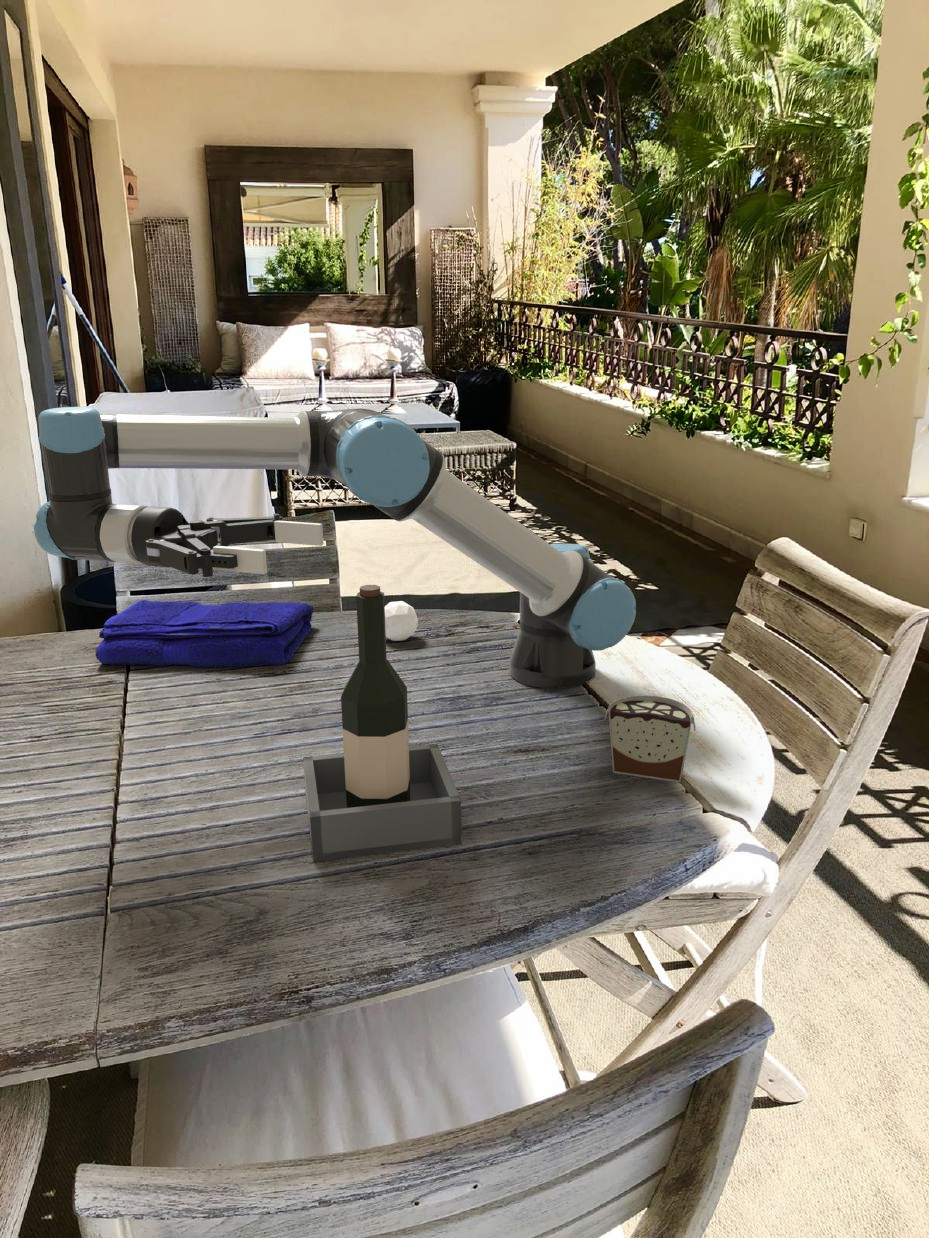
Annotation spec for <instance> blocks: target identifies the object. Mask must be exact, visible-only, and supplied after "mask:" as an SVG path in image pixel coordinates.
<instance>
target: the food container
mask: <svg viewBox="0 0 929 1238" xmlns="http://www.w3.org/2000/svg"><path fill="white" fill-rule="evenodd" d="M607 718H608V723H609V738H610V750H611V751H610V753H611V765H612V774H619V775H626V776H634V777H638V778H639V777H641V778H646V779H655V780H661V781H667V782H673V783H681V782H682V776H683V773H684V772H683V771H684V765H685V762H686V761H685V760H686V755H687V749H688V745H689V739H690V733H691V729H692V728H691V727H692V726H693V731H694V732H695V731H696V722H695V717H694V714H693V712H692V710H691V708H690V707H688V705H686V704H684V703H682V702H681V701H679V700H675V699H672V698H670V697H665V696H660V695H651V694H649V695H646V694H644V695H643V694H641V695H639V694H638V695H629V696H624V697H621V698H618V699H616V700H613V701H612V702H611V703H609V705H608V708H607V709H606V712H605V715H604V718H603V719H604V720H606V719H607Z"/></svg>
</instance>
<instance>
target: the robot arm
mask: <svg viewBox="0 0 929 1238" xmlns="http://www.w3.org/2000/svg"><path fill="white" fill-rule="evenodd" d="M37 419H38V428H39V432H38V434H39V435H38V436H39V437H38V439H39V443H40V445H41V446H40V447H41V451H42V457H43V462H44V469H45V475H46V480H47V485H48V492H49V493H48V496H49V498H48V500H49V501H47V502H45V503H44V504H42V505H41V506H40V507H39V508H38V511H36V514H35V518H36V521H35V523H34V524H33V530H34V532H33V533H34V536H35V540H36V541H37V544H38V546H39V547H40V548H41V549H42V550H43V551H45V552H46V553H47V554H49V555H51V556H56V557H60V558H67V559H70V560H75V561H82V560H84V561H97V562H107V563H108V562H109V563H110V562H111V563H121V564H124V563H125V564H128V567H130V568H136V567H137V565H142V566H143V565H145V566H147V567H160V568H172V569H175V570H178V571H180V572H182V573H186V574H188V575H192V576H193V575H194V576H195V575H197V574H199V572H200V571H199V570H200V569H201V573H202V577H203V578H210V577H213V576H214V571H213V568H214V570H215V571H224V572H235V573H247V574H255V575H257V574H258V575H266V574H267V573H268V565H267V564H268V563H267V554H266V549H261V548H251V547H250V548H248V547H238V546H237V547H236V546H229V545H234V544H235V545H236V544H246V543H247V544H248V543H254V542H255V543H256V542H263V541H265V542H266V541H275V543H280V544H292V545H305V546H306V545H307V546H315V547H316V546H319V547H322V546H323V545H324V532H323V531H324V528H323V523H319V522H302V521H290V520H288V521H287V520H283V516H281V515H280V514H279V513H273V516H254V517H253V516H252V517H251V516H250V517H227V518H223V517H209V518H208V517H207V518H206V521H204V520H191V521H189V522H188V521H187V519H186V518H185V516H184V515H183V513H182V512H181V511H180V510H178V509H176V508H174V507H173V508H172V507H166V506H165V507H164V506H148V505H141V504H140V505H139V504H121V503H113V497H112V489H111V482H110V475H109V469H181V470H182V469H187V470H188V469H189V470H190V469H191V470H192V469H197V470H198V469H201V470H204V469H205V470H206V469H207V470H208V469H209V470H215V469H216V470H294V471H295V470H296V472H298V473H299V474H300V475H301V476H302V477H321V478H326V479H330V480H331V479H332V480H334V481H338V482H340V483H341V484H343V486H345V488H347V489H349V491H350V493H352V495H354V496H355V497H356V498H358V499H359V500H361V501H363V502H365V503H368V504H371V505H372V506H374V507H375V508H377V509H378V510H379V511H381V512H383V513H384V514H386V515H387V516H388V517H390V518H391V519H393V520H395V521H396V522H403V521H405V522H406V521H409V520H413V521H415V522H416V523H418V524H419V525H421V526H422V527H423V528H425V529H426V530H428V531H429V532H432V533H433V534H434V535H435V536H437V537H438V538H439V539H441V540H443V541H444V542H445V543H447V544H449V545H450V546H451V547H453V548H455V549H456V550H458V552H460V553H461V554H463V555H465V556H466V557H468V558H469V559H471V560H472V561H473V562H475V563H476V564H479V566H481V567H482V568H484V569H486V570H487V571H488V572H490V573H492V574H493V575H495V576H496V577H497V578H498V579H500V580H501V581H503V582H505V583H506V584H507V585H509V586H511V587H512V588H513V589H515V590H517V591H518V592H519V631H518V634H517V637H516V640H515V643H514V646H513V649H512V652H511V653H510V658H509V662H508V663H509V672H508V673H509V675H510V677H511V678H513V679H514V680H515V681H517V682H518V683H521V684H524V685H526V686H530V687H535V688H544V689H567V688H568V689H569V688H573V687H574V688H575V687H578V686H582V685H585V684H586V683H589V682H590V681H593V679H594V678H595V677H596V659H595V656H594V652H593V651H597V652H598V651H604V650H606V649H609V648H613V647H614V646H616V645H617V644H619V643H620V642H622V640H623V639H625V637H626V636H627V635H628V633H629V631H630V630H631V629H632V627H633V624H634V622H635V619H636V615H637V614H636V613H637V610H636V608H637V607H636V605H637V602H636V598H635V596H634V593H633V592H632V590H631V588H629V587H628V585H626V583H624V582H623V580H622V579H619V578H614V577H613V576H612V575H610V574H608V573H606V571H604V570H602V568H600V567H598V566H597V565H595V564H594V563H593V562H592V561H590V559H591V556H590V551H589V548H588V547H587V546H586V545H583V544H578V543H549V542H547V541H545V539H543V538H542V537H540V536H539V535H537V534H536V533H534V532H533V531H532V530H531V529H529V528H527V527H526V526H525V525H523V524H522V523H520V522H519V521H518V520H517V519H515V518H514V517H512V516H511V515H510V514H508V513H507V512H506V511H504V510H502V509H501V508H500V507H499V506H497V505H496V504H495V503H493V502H492V501H490V500H489V499H488V498H486V497H485V496H483V495H482V494H480V493H479V492H478V491H477V490H475V489H474V488H472V487H471V486H469V485H468V484H467V483H465V482H463V480H461V479H460V478H458V477H457V476H455V475H454V474H453V473H451V472H450V471H449V470H448V469H447V468H446V467H447V466H446V460H445V459H446V458H445V455H444V454H443V453H442V452H440V451H439V450H438V449H436V448H435V447H434V446H432V445H431V444H429V443H428V442H427V441H426V440H424V439H423V438H421V436H420V435H419V434H418V433H417V431H416V430H415V429H414V428H413V427H411V426H410V425H408V424H407V423H406V422H405V421H403V420H400V419H398V418H395V417H392V416H388V415H386V414H382V413H381V412H378V411H376V410H372V409H369V408H346V409H345V408H344V409H337V410H322V411H321V410H317V411H316V410H315V411H312V410H302V411H300V412H299V413H298V414H297V415H296V416H294V417H272V416H271V417H265V416H264V417H262V416H259V417H258V416H256V417H255V416H220V415H219V416H218V415H217V416H215V415H214V416H213V415H212V416H211V415H173V414H172V415H170V414H169V415H168V414H167V415H166V414H165V415H164V414H161V415H159V414H156V415H155V414H125V413H123V414H109V413H103V414H102V413H100V412H99V411H98V410H97V409H96V408H95V407H89V406H64V407H55V408H49V409H45V410H43V411H41V412H40V413H39V414H38V418H37ZM219 539H220V540H219ZM218 540H219V541H220V542H218ZM211 551H213V552H211Z"/></svg>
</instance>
